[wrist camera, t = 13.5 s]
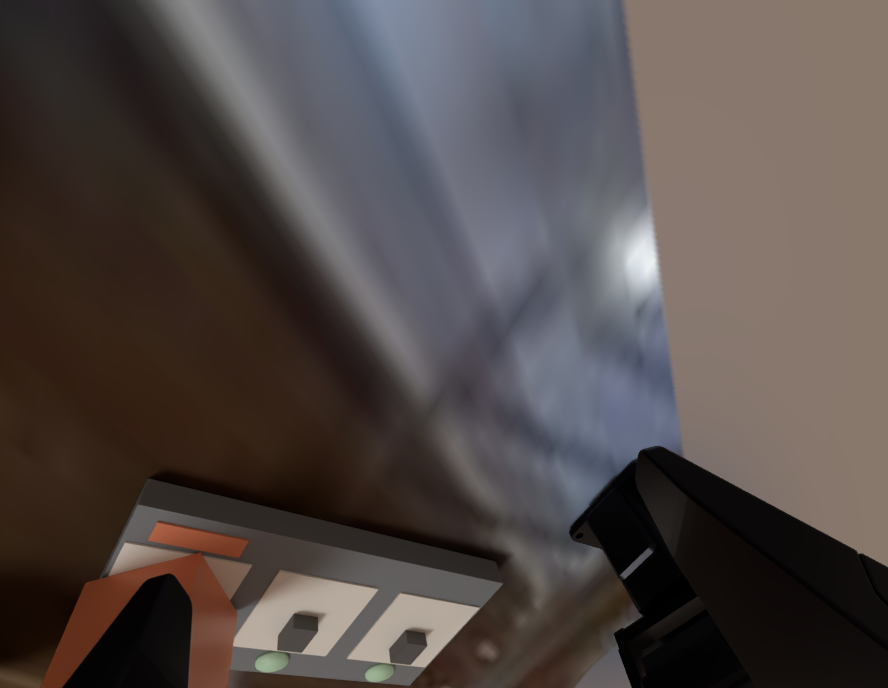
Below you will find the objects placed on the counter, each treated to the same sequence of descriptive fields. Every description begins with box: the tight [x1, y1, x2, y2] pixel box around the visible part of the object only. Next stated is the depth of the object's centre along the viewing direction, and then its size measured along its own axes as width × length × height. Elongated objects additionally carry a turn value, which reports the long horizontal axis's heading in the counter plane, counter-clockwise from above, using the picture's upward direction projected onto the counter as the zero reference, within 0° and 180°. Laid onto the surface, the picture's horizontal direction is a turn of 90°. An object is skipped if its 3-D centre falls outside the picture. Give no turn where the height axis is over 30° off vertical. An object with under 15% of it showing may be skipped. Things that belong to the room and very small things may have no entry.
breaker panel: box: [99, 479, 503, 686], centre depth 27 cm, size 20×11×2 cm, turn 57°
